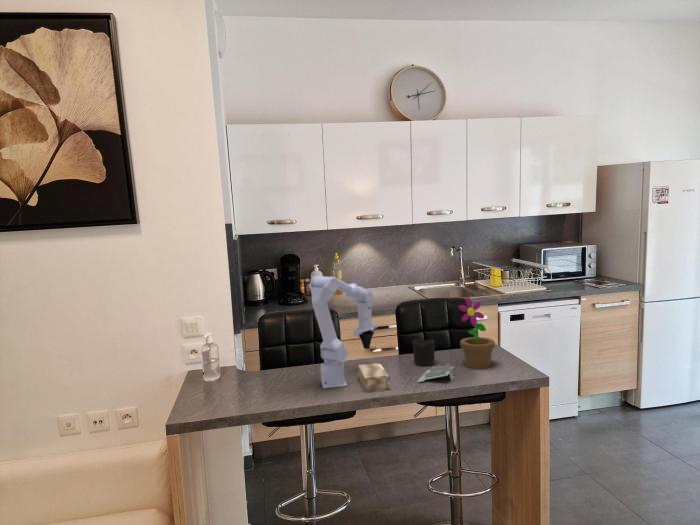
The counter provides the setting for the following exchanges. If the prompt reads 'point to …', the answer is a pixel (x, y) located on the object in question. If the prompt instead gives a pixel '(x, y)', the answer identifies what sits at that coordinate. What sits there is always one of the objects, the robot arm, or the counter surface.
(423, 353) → the pen holder
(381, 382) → the beige rectangular block
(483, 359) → the flowerpot
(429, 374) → the metal bracket
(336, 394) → the counter surface
